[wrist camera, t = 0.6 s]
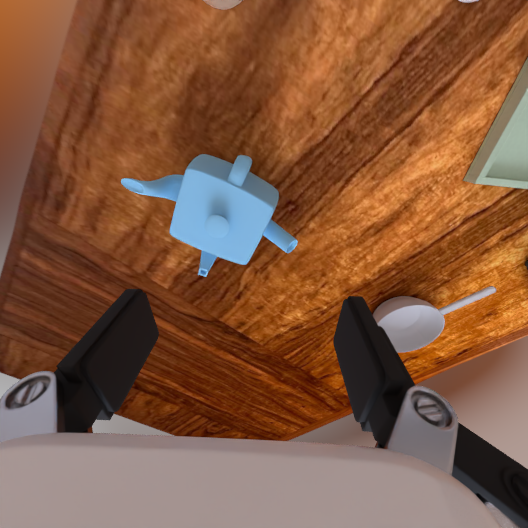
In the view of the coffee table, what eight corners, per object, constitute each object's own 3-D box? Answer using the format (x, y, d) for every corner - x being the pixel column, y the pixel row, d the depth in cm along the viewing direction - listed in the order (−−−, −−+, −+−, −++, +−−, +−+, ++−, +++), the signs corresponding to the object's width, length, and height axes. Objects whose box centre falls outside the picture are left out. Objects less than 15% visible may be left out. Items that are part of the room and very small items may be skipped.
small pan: (353, 313, 39) (361, 330, 36) (461, 251, 32) (482, 264, 29) (384, 344, 43) (394, 362, 40) (486, 294, 36) (508, 310, 33)
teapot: (315, 183, 28) (335, 207, 20) (267, 268, 35) (266, 314, 26) (175, 111, 25) (123, 101, 16) (152, 221, 31) (106, 255, 23)
